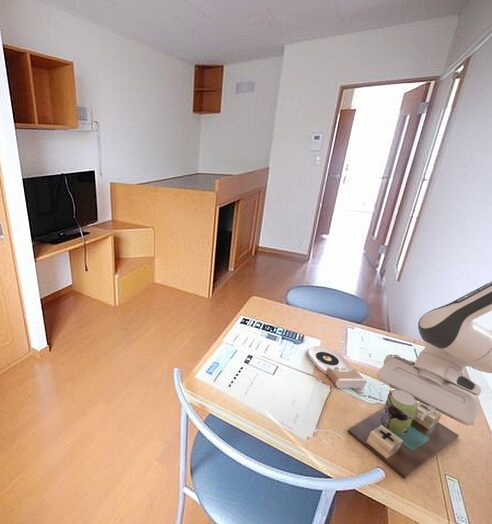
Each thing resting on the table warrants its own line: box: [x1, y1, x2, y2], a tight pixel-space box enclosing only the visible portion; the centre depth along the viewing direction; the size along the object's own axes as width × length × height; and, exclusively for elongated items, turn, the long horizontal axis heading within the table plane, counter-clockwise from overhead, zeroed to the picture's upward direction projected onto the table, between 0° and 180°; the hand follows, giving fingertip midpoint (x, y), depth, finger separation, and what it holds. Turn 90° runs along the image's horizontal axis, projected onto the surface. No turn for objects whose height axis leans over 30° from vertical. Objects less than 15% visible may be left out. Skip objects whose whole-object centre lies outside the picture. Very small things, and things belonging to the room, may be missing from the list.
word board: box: [347, 401, 460, 480], centre depth 83 cm, size 26×14×5 cm, turn 115°
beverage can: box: [381, 389, 418, 435], centre depth 82 cm, size 6×7×12 cm
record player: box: [307, 345, 367, 389], centre depth 109 cm, size 12×3×20 cm
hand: (411, 415), depth 81 cm, fingers closed on beverage can
